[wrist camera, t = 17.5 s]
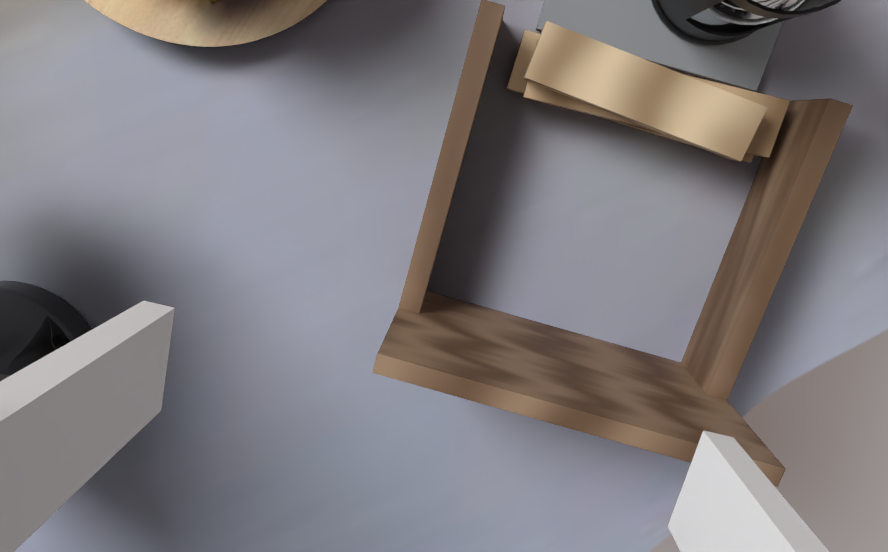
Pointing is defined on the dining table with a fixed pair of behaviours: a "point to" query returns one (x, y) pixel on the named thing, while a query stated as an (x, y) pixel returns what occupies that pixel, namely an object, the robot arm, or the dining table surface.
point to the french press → (730, 17)
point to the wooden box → (592, 360)
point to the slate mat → (665, 39)
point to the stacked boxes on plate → (207, 18)
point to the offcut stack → (644, 94)
